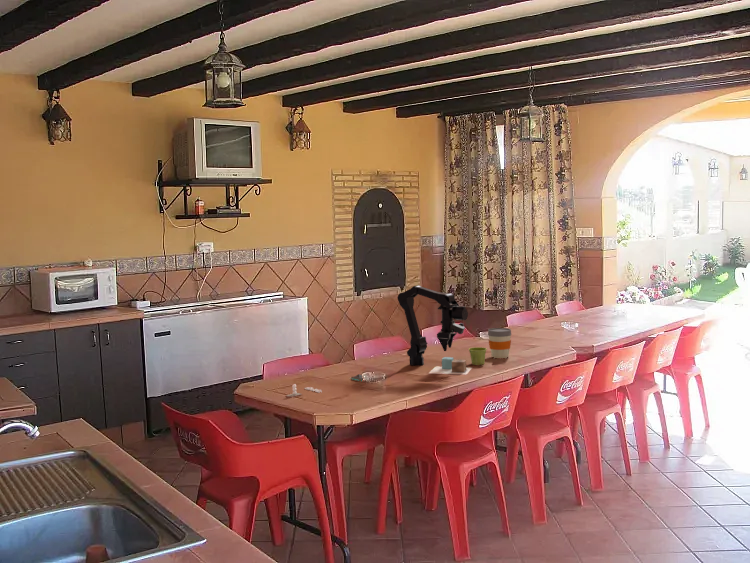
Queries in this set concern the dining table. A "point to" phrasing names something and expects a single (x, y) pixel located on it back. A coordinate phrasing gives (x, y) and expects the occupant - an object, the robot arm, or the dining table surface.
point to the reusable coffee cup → (499, 342)
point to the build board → (448, 371)
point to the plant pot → (477, 355)
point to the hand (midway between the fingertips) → (447, 349)
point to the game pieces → (356, 378)
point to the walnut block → (458, 365)
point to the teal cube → (447, 362)
